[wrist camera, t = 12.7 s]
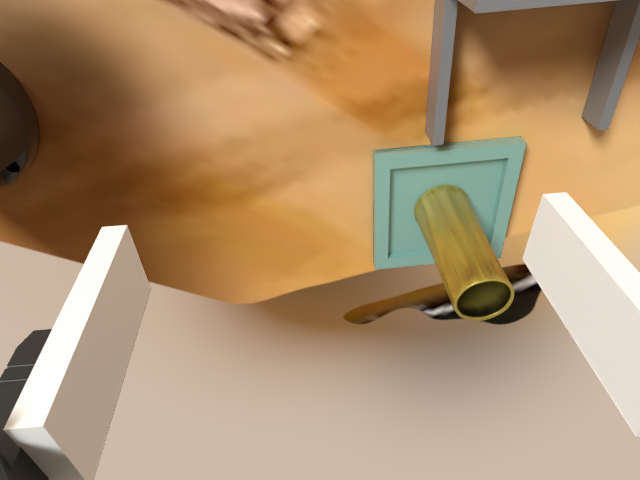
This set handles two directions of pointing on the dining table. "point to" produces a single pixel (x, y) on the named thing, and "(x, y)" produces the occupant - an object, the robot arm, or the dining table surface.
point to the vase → (462, 254)
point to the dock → (621, 38)
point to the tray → (435, 170)
